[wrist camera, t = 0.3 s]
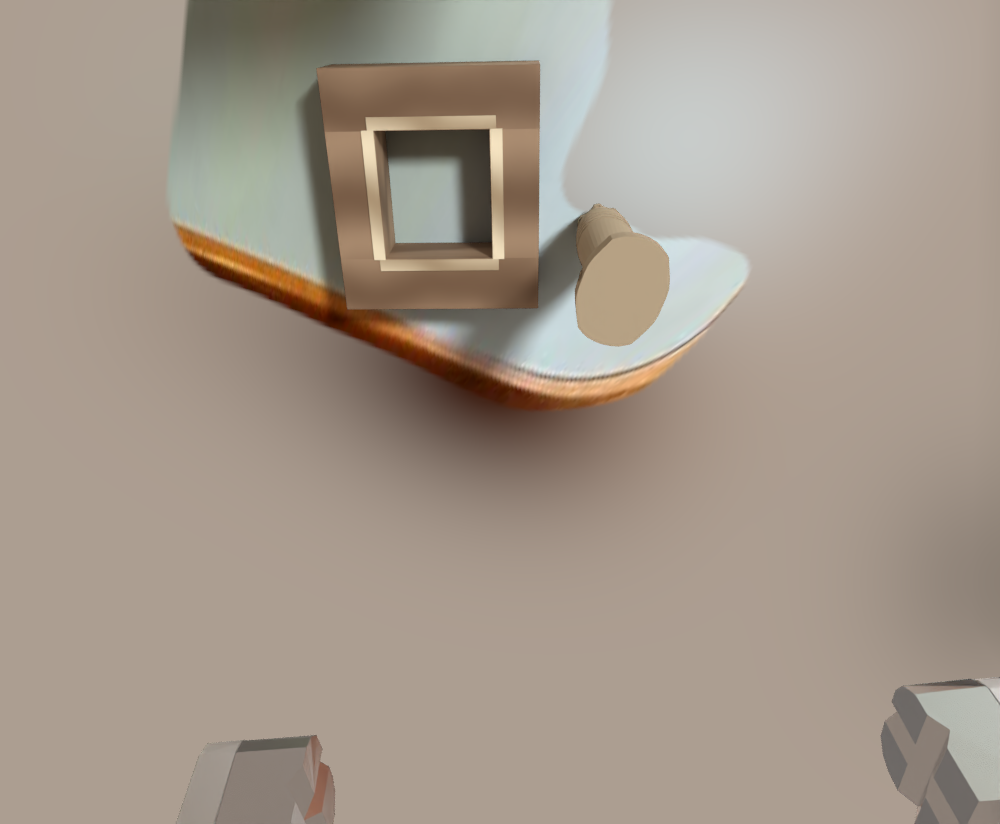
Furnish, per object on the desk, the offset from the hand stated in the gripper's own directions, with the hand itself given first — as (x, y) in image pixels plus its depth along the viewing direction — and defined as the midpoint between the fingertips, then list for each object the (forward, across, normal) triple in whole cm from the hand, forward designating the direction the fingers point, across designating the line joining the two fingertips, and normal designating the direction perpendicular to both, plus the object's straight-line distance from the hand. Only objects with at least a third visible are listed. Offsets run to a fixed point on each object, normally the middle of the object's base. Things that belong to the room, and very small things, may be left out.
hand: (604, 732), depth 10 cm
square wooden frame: (+47, +5, +5) cm, 47 cm away
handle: (+46, -7, +9) cm, 47 cm away
